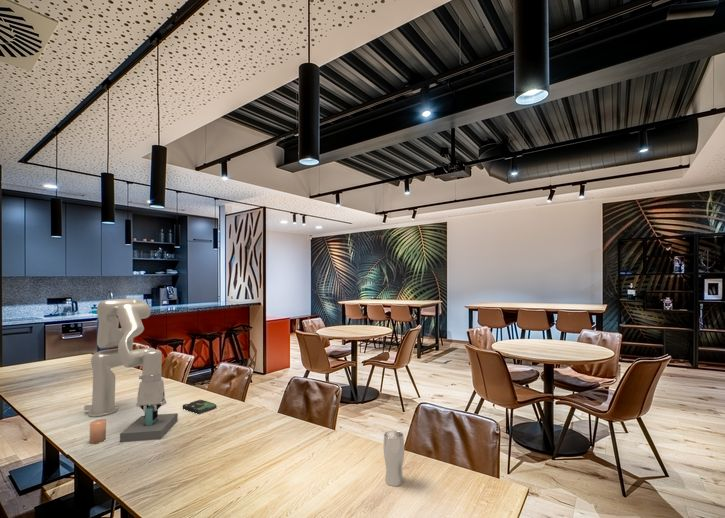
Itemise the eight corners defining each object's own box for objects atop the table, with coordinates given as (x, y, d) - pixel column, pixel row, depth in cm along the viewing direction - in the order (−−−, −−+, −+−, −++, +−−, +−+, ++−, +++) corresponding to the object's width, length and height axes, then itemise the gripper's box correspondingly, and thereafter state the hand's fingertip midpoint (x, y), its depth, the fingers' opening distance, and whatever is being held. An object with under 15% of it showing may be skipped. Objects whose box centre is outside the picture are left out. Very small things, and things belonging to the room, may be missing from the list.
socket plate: (119, 442, 148) (120, 433, 149) (141, 423, 168) (141, 415, 168) (160, 438, 151) (161, 430, 151) (177, 420, 171) (177, 413, 171)
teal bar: (145, 431, 157) (145, 409, 157) (151, 425, 162) (150, 404, 162) (151, 431, 157) (151, 409, 157) (156, 425, 163) (156, 403, 163)
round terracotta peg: (86, 444, 146) (87, 424, 147) (94, 438, 152) (94, 419, 152) (101, 443, 147) (101, 423, 148) (108, 437, 153) (108, 418, 153)
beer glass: (382, 475, 121) (381, 430, 121) (402, 474, 121) (401, 429, 122) (385, 487, 114) (384, 439, 115) (406, 486, 114) (406, 438, 115)
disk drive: (182, 410, 186) (199, 415, 178) (182, 405, 186) (199, 409, 178) (200, 404, 195) (217, 408, 187) (200, 399, 195) (217, 403, 187)
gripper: (128, 381, 156) (127, 424, 155) (167, 379, 158) (166, 421, 157) (136, 376, 163) (135, 417, 162) (173, 374, 166) (173, 415, 165)
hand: (151, 419), depth 160 cm, fingers closed on teal bar, 2 cm apart
